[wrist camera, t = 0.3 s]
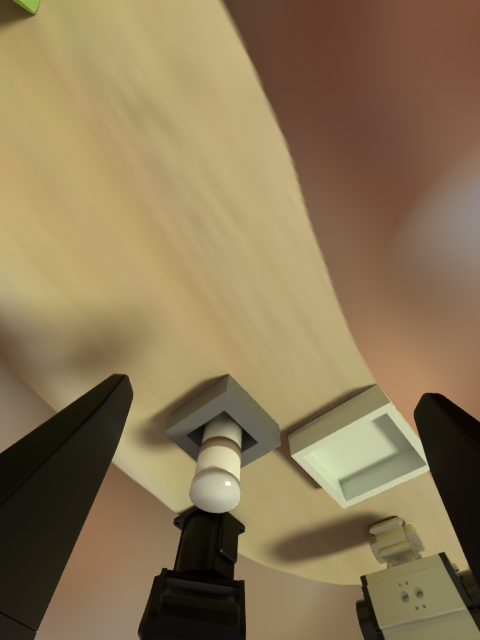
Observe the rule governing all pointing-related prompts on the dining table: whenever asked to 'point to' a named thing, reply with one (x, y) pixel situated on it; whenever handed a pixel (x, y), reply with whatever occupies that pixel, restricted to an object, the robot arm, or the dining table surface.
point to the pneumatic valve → (415, 591)
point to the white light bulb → (218, 466)
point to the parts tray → (359, 448)
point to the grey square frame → (239, 406)
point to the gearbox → (28, 5)
